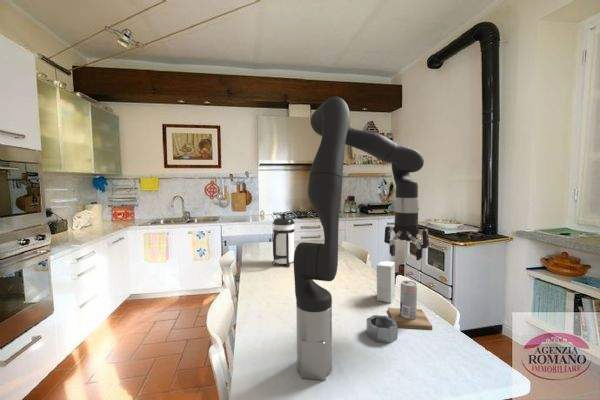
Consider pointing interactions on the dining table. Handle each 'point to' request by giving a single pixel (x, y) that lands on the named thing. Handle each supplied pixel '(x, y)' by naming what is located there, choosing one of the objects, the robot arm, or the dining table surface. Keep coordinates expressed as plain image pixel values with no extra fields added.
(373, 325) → the metal collar
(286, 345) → the dining table surface
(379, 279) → the skincare box
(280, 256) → the coffee press
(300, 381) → the dining table surface
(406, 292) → the energy drink
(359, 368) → the dining table surface
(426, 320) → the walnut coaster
